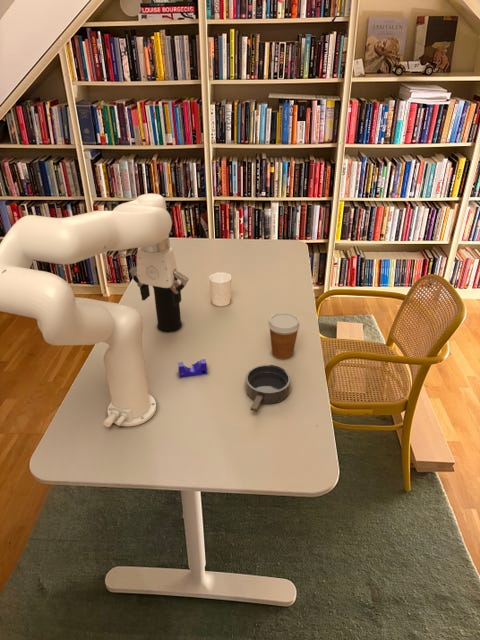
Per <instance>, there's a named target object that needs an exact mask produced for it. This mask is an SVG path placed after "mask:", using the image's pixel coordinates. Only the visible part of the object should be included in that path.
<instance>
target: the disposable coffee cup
mask: <svg viewBox="0 0 480 640" xmlns="http://www.w3.org/2000/svg"><path fill="white" fill-rule="evenodd" d="M267 326H268V328H269V335H270V343H271V344H270V345H271V352H272V353H271V354H272V356H273V357H274V358H276V359H279V360H289V359H291V358H292V357H293V355H294V351H295V346H296V341H297V336H298V332H299V329H300V327H301V323H300V320H299V318H298V317H297V316H296V315H295V314H292V313H289V312H278V313H274V314H272V315H271V316H270V317H269V320H268V321H267Z"/></svg>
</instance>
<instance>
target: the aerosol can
mask: <svg viewBox="0 0 480 640" xmlns="http://www.w3.org/2000/svg"><path fill="white" fill-rule="evenodd" d="M173 285H174V284H173ZM174 286H175V285H174ZM175 287H176V286H175ZM152 288H153V295H154V303H155V304H154V305H155V312H156V321H157V325H156V326H157V330H159V331H160V332H162V333H174V332H177V331H179V330H180V329H181V328H182V326H183V323H182V318H181V307H180V306H181V305H180V303H179V304H178V305H177V306H176V307H175V306H173V299H172V294H173V293H174V292H173V291H172V290H171V288H162V287H157V286H152ZM176 288H177V287H176Z"/></svg>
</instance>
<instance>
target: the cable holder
mask: <svg viewBox="0 0 480 640" xmlns="http://www.w3.org/2000/svg"><path fill="white" fill-rule="evenodd" d="M207 365H208V363H207V360H206V359H205V358H202V359H199V360H197V361H196V362H195V363H193V364H191V367H188V366H186V365H185V363H184V361H179V362H177V371H178V377H179V378H180V379H182V378H190V377H196V376H205V375H208V368H207Z"/></svg>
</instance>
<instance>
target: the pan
mask: <svg viewBox="0 0 480 640" xmlns="http://www.w3.org/2000/svg"><path fill="white" fill-rule="evenodd" d="M291 379H292V378H291V375H290V374H289V372H288V371H287V370H286V369H285V368H283V367H280V366H278V365H275V364H261V365H257V366H254V367H252V368H250V370H248V371H247V373H246V374H245V392H246V395H247V396H248V397H249V398H250V399H251V400H253V401H254V400H255V398H256V396H257V394H262V395H264V398H263V400H262V402H261V404H266V405H267V404H270V405H272V404H276V403H280V402H282V401H284V400H285V399H287V397H289V395H290V392H291V384H292V383H291V382H292V381H291Z"/></svg>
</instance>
